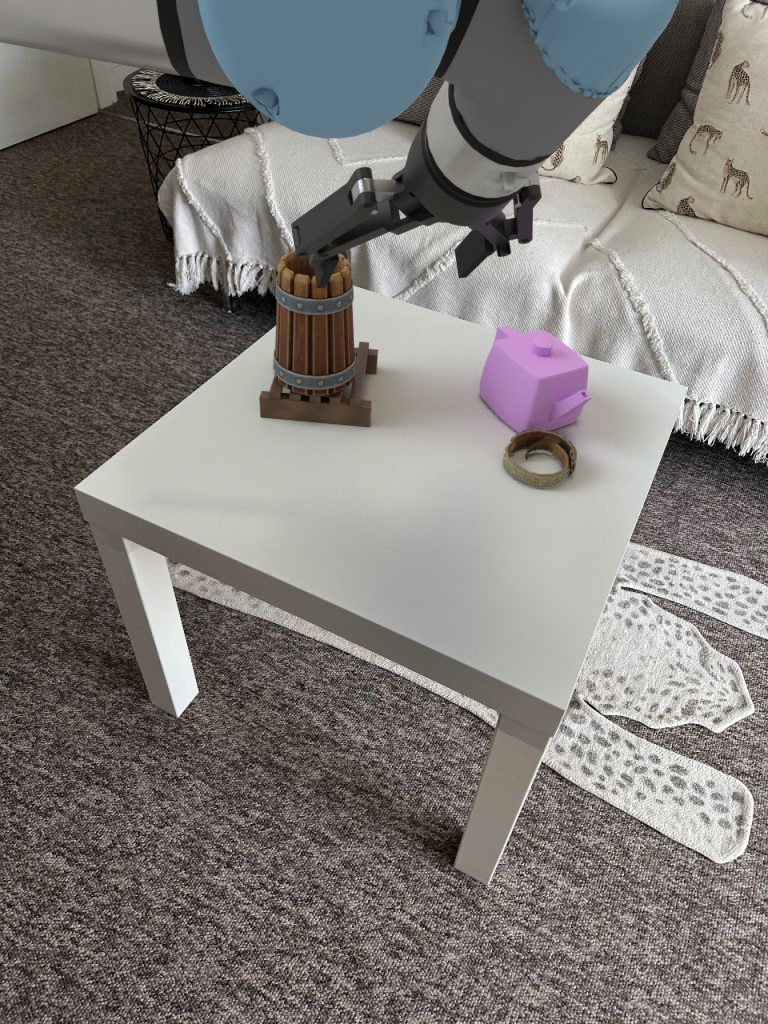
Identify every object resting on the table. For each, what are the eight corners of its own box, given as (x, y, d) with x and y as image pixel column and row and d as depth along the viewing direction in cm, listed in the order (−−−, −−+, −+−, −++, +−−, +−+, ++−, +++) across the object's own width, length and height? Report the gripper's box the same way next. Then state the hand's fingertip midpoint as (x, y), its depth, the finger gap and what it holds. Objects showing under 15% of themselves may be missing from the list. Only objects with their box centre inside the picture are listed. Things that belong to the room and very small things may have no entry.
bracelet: (580, 458, 88) (586, 439, 86) (563, 499, 83) (569, 480, 81) (513, 437, 91) (518, 418, 89) (492, 475, 85) (497, 456, 83)
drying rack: (260, 417, 90) (258, 390, 87) (278, 359, 100) (277, 333, 98) (369, 427, 90) (371, 401, 87) (377, 368, 100) (378, 343, 98)
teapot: (602, 438, 92) (626, 370, 85) (538, 458, 88) (557, 389, 81) (520, 368, 103) (535, 303, 96) (460, 383, 99) (471, 316, 92)
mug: (338, 407, 86) (341, 291, 76) (259, 387, 88) (251, 271, 78) (379, 346, 97) (386, 237, 87) (307, 329, 99) (306, 221, 89)
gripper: (293, 211, 41) (261, 320, 62) (660, 196, 48) (520, 298, 68) (273, 83, 41) (248, 234, 62) (643, 85, 47) (508, 221, 68)
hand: (391, 268), depth 65 cm, fingers open, 13 cm apart
